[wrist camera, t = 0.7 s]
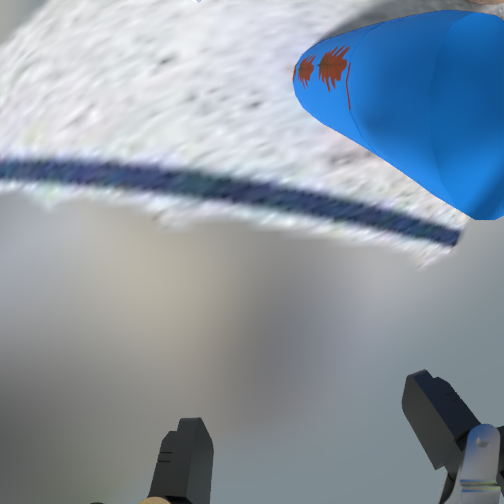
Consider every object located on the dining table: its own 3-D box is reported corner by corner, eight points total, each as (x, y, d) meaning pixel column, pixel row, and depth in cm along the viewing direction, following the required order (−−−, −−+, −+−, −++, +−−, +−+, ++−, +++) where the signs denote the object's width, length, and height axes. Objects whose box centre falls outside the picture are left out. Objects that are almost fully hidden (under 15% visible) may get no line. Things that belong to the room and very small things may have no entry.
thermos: (299, 31, 25) (438, -37, 4) (381, 56, 26) (559, 78, 5) (284, 115, 31) (393, 204, 10) (365, 134, 32) (517, 236, 11)
